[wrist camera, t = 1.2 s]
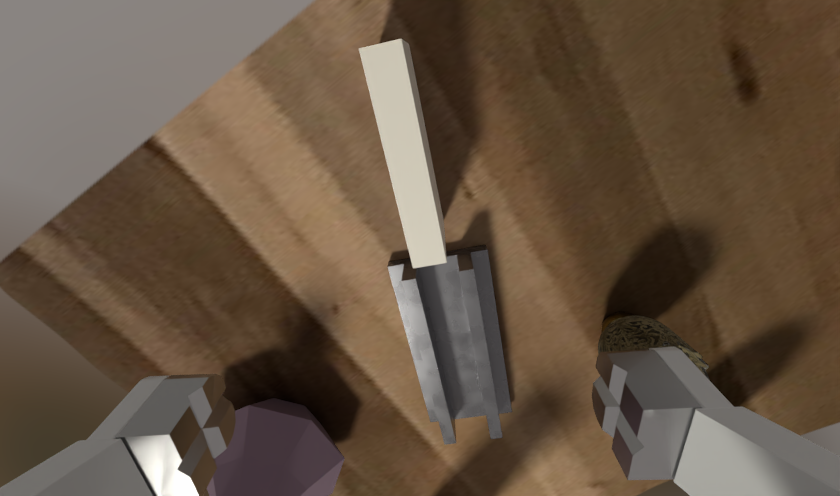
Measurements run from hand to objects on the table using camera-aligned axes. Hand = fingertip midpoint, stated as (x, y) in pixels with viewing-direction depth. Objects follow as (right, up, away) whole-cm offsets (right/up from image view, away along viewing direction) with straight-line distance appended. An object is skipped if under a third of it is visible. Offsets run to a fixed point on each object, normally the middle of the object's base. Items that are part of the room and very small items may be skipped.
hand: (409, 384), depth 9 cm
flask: (-16, -18, +38) cm, 45 cm away
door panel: (0, +11, +23) cm, 26 cm away
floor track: (+4, -6, +31) cm, 32 cm away
